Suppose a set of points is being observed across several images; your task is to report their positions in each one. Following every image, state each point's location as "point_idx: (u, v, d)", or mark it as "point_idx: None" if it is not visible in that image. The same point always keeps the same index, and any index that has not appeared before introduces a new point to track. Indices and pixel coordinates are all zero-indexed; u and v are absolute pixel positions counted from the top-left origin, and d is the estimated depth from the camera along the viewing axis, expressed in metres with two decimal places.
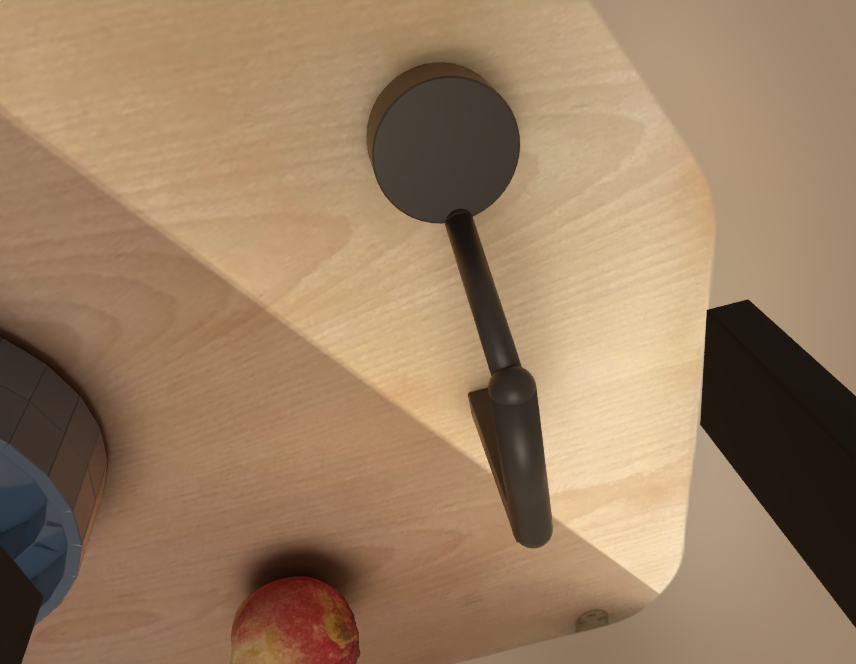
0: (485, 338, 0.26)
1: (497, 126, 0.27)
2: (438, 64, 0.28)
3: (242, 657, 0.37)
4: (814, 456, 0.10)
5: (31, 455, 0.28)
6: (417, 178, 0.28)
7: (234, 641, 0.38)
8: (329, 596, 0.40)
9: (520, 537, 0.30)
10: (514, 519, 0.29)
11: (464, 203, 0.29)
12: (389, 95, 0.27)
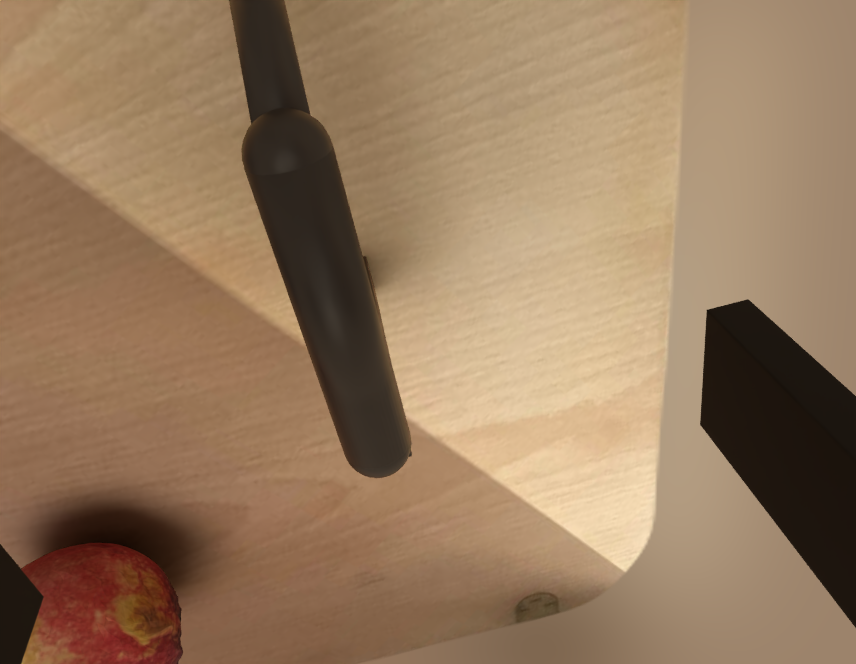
0: (246, 68, 0.14)
1: None
2: None
3: None
4: (814, 456, 0.10)
5: None
6: None
7: None
8: (135, 569, 0.27)
9: (351, 458, 0.18)
10: (336, 425, 0.17)
11: None
12: None
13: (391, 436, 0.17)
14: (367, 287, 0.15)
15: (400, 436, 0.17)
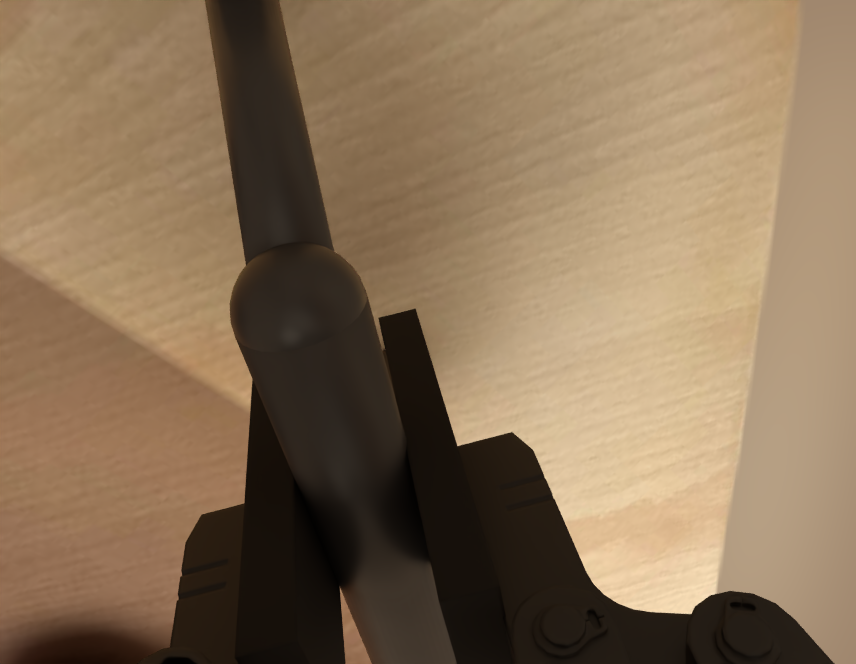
0: (237, 174, 0.10)
1: None
2: None
3: None
4: None
5: None
6: None
7: None
8: None
9: None
10: (363, 638, 0.12)
11: None
12: None
13: (437, 652, 0.13)
14: (411, 477, 0.11)
15: (448, 647, 0.13)
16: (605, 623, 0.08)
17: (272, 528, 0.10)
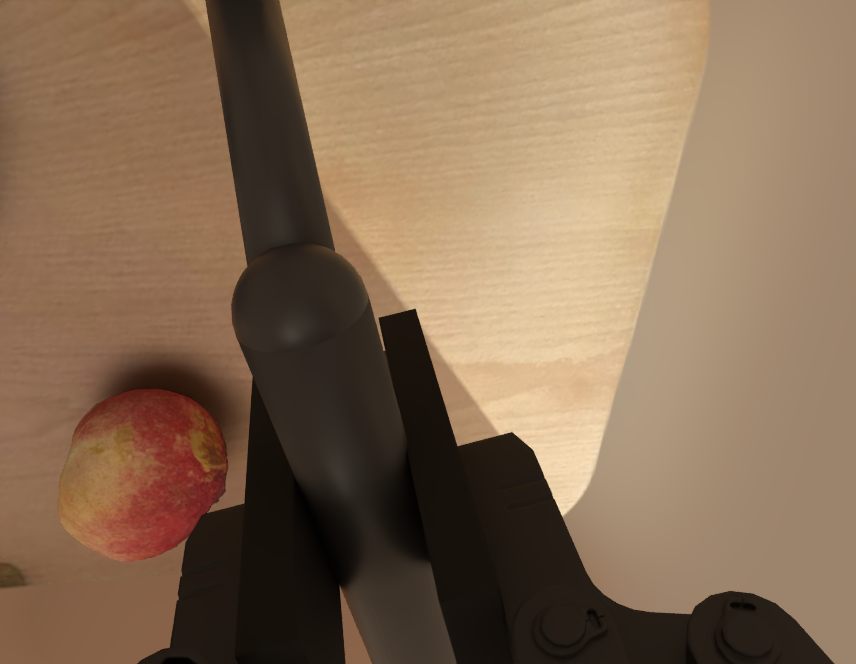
0: (240, 175, 0.10)
1: None
2: None
3: (81, 455, 0.30)
4: None
5: None
6: None
7: (75, 438, 0.31)
8: (202, 416, 0.34)
9: None
10: (363, 638, 0.13)
11: None
12: None
13: (438, 652, 0.13)
14: None
15: (449, 648, 0.13)
16: (605, 623, 0.08)
17: (272, 528, 0.10)
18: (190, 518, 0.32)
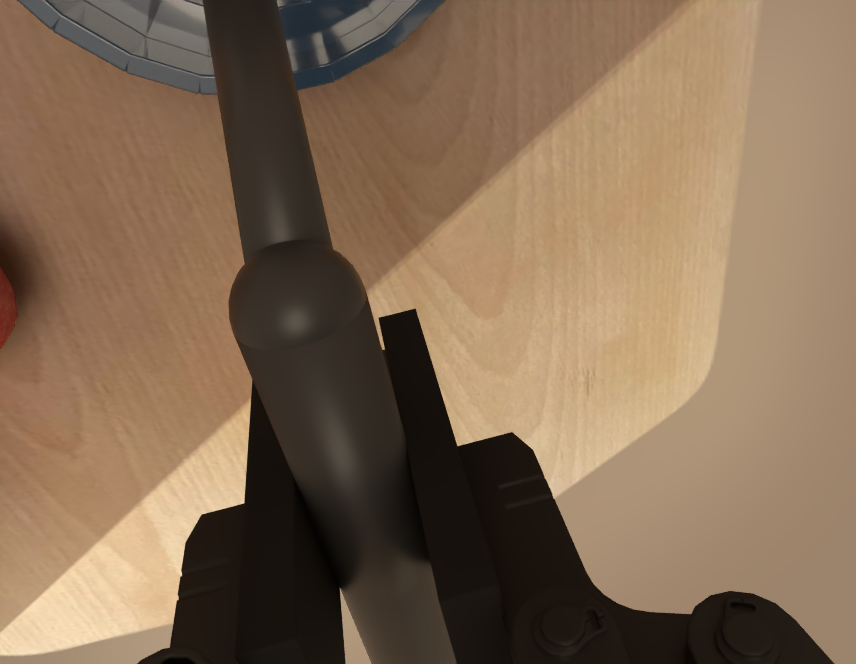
0: (236, 172, 0.10)
1: None
2: None
3: None
4: None
5: None
6: None
7: None
8: None
9: None
10: (362, 638, 0.12)
11: None
12: None
13: (437, 651, 0.13)
14: (411, 475, 0.11)
15: (448, 647, 0.13)
16: (605, 623, 0.08)
17: (272, 528, 0.10)
18: None
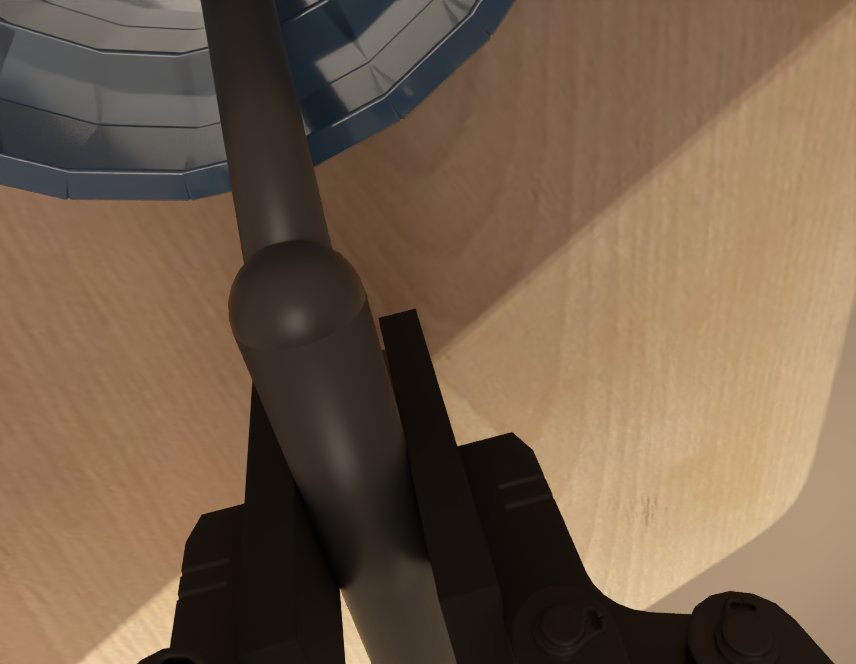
0: (235, 173, 0.10)
1: None
2: None
3: None
4: None
5: None
6: None
7: None
8: None
9: None
10: (362, 638, 0.12)
11: None
12: None
13: (437, 651, 0.13)
14: (410, 475, 0.11)
15: (448, 646, 0.13)
16: (605, 623, 0.08)
17: (272, 528, 0.10)
18: None
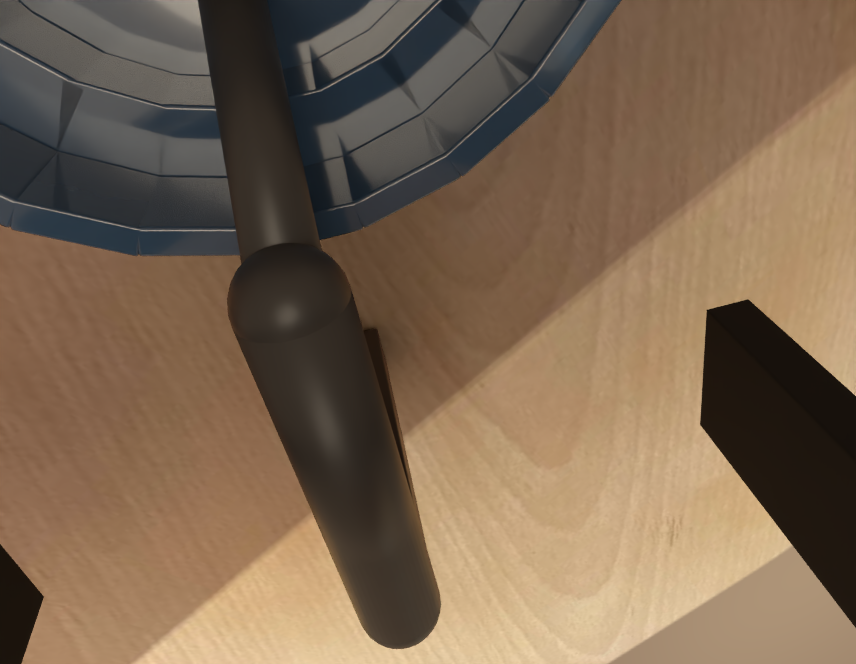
0: (233, 178, 0.10)
1: None
2: None
3: None
4: (814, 456, 0.10)
5: None
6: None
7: None
8: None
9: (368, 630, 0.14)
10: (350, 597, 0.14)
11: None
12: None
13: (418, 609, 0.14)
14: (393, 452, 0.12)
15: (429, 605, 0.14)
16: None
17: None
18: None
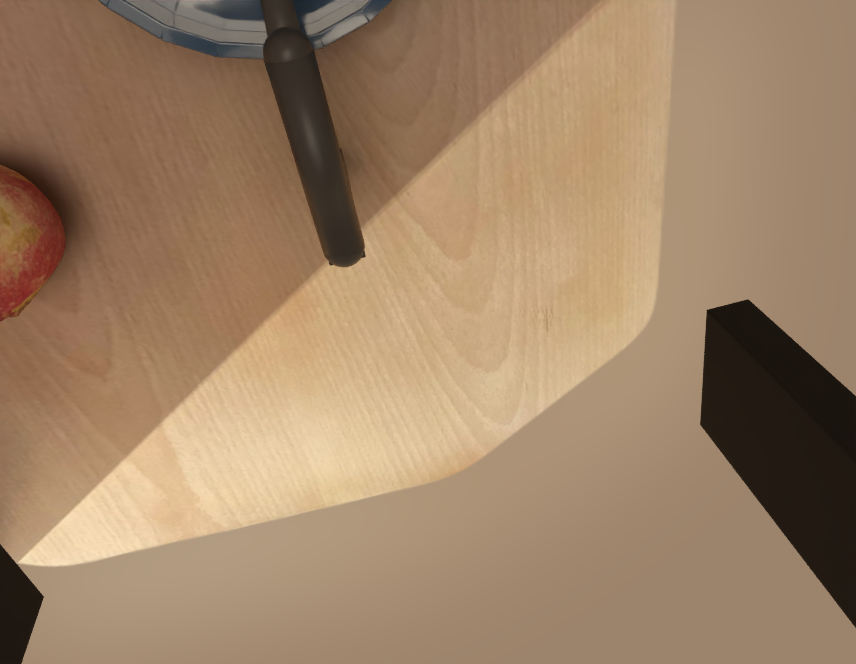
0: (264, 5, 0.25)
1: None
2: None
3: None
4: (814, 456, 0.10)
5: None
6: None
7: None
8: None
9: (327, 251, 0.29)
10: (317, 228, 0.28)
11: None
12: None
13: (351, 235, 0.28)
14: (334, 136, 0.26)
15: (356, 237, 0.29)
16: None
17: None
18: None
